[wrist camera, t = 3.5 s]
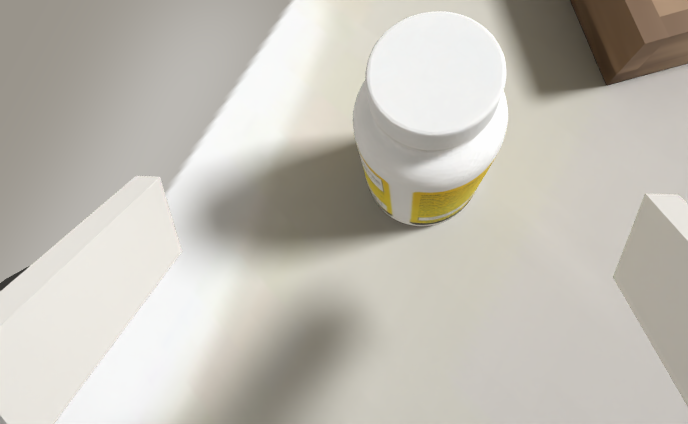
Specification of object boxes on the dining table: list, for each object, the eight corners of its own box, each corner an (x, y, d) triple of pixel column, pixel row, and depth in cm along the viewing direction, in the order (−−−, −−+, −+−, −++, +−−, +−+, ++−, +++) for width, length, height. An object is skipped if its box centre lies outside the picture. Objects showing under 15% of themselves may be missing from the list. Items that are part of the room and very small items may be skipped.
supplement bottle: (493, 147, 22) (565, 22, 12) (449, 245, 21) (489, 194, 11) (393, 109, 23) (388, -33, 13) (349, 201, 22) (308, 120, 12)
